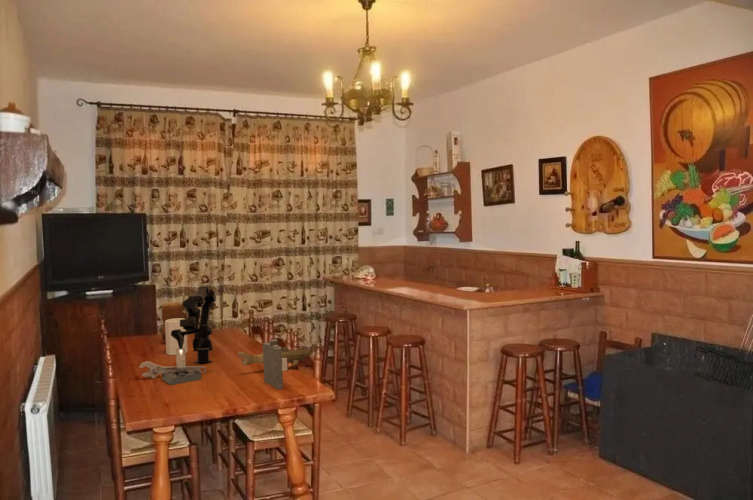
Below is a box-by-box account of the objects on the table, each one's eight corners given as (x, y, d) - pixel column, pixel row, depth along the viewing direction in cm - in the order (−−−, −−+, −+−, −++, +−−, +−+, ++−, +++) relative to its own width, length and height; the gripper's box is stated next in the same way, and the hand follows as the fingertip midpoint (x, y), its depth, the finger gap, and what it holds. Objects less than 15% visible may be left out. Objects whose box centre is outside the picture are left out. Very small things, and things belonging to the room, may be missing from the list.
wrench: (205, 378, 285) (138, 379, 272) (205, 377, 287) (138, 378, 274) (207, 361, 285) (140, 362, 272) (206, 360, 287) (139, 361, 274)
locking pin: (177, 378, 274) (176, 348, 273) (186, 377, 275) (185, 348, 274) (176, 381, 270) (175, 350, 269) (185, 380, 271) (184, 349, 270)
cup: (161, 354, 324) (160, 321, 323) (175, 350, 335) (174, 317, 334) (178, 356, 320) (176, 322, 319) (191, 351, 330) (190, 318, 329)
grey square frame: (162, 379, 273) (161, 373, 273) (191, 374, 282) (191, 367, 281) (170, 385, 264) (170, 378, 263) (201, 379, 272) (201, 372, 272)
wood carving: (236, 372, 282) (235, 349, 281) (307, 364, 296) (306, 341, 295) (240, 377, 274) (239, 353, 273) (313, 368, 288) (312, 345, 287)
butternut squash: (176, 339, 365) (175, 299, 363) (190, 341, 357) (188, 300, 355) (157, 343, 353) (155, 302, 352) (170, 346, 346) (168, 303, 344)
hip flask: (263, 381, 266) (261, 337, 265) (271, 380, 268) (270, 336, 267) (277, 390, 252) (275, 343, 251) (286, 388, 255) (284, 342, 253)
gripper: (167, 314, 282) (162, 344, 273) (203, 308, 279) (199, 338, 270) (178, 324, 291) (174, 354, 282) (214, 318, 288) (210, 348, 279)
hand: (189, 348), depth 278 cm, fingers open, 9 cm apart
